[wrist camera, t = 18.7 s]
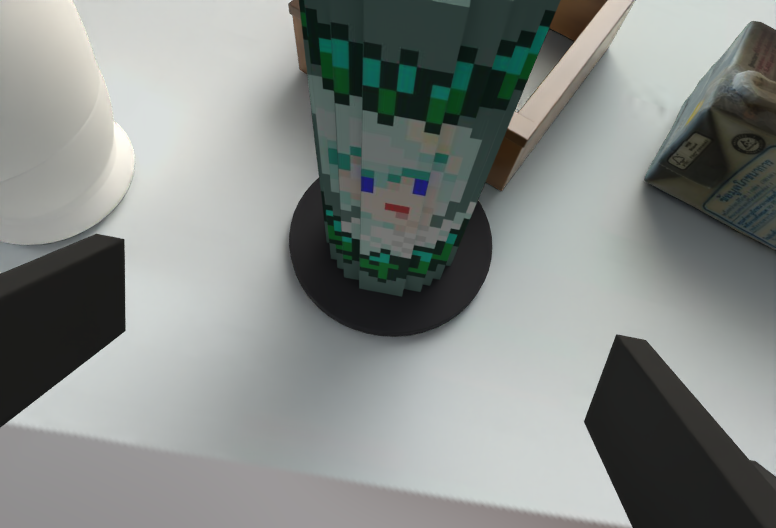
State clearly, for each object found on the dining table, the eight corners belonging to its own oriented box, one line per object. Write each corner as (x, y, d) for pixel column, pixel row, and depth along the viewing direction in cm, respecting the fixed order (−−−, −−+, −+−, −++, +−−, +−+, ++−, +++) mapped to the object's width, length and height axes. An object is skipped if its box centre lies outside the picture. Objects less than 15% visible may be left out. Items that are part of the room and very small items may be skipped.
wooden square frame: (296, 70, 29) (287, 3, 25) (428, -46, 35) (437, -116, 31) (501, 194, 26) (527, 140, 22) (610, 47, 32) (647, -18, 28)
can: (316, 280, 23) (259, -30, 9) (344, 174, 26) (332, -188, 12) (444, 305, 23) (576, 26, 9) (460, 196, 25) (580, -146, 12)
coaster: (247, 257, 24) (245, 252, 23) (370, 130, 28) (370, 122, 27) (417, 380, 22) (418, 377, 21) (524, 224, 26) (528, 218, 25)
